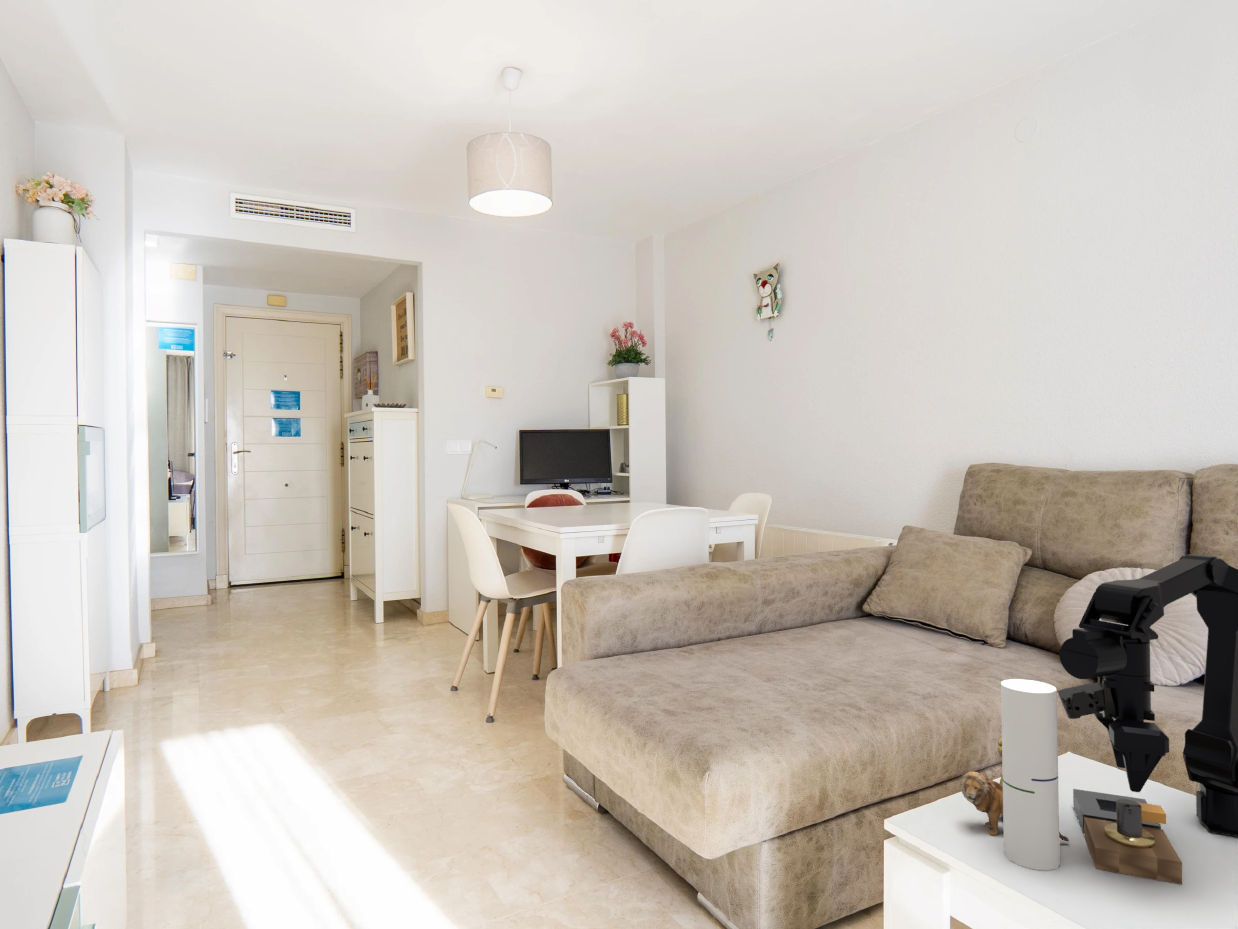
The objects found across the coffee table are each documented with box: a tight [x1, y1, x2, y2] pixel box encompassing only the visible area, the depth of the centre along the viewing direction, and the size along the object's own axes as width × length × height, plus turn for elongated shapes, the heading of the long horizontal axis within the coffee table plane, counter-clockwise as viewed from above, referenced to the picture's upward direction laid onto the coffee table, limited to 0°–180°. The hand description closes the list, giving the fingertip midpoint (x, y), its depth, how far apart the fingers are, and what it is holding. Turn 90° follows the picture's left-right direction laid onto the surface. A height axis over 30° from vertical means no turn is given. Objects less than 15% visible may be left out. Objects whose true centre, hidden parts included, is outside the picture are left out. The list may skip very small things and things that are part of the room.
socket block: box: [1072, 788, 1162, 835], centre depth 116 cm, size 10×10×3 cm
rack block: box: [1083, 817, 1183, 885], centre depth 106 cm, size 10×10×3 cm
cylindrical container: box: [1000, 678, 1061, 871], centre depth 107 cm, size 7×7×25 cm
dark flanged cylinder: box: [1105, 799, 1155, 848], centre depth 106 cm, size 6×6×8 cm
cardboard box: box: [1137, 802, 1167, 825], centre depth 110 cm, size 3×3×2 cm
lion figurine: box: [960, 770, 1070, 842], centre depth 114 cm, size 15×5×9 cm, turn 68°
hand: (1127, 779), depth 106 cm, fingers open, 9 cm apart
